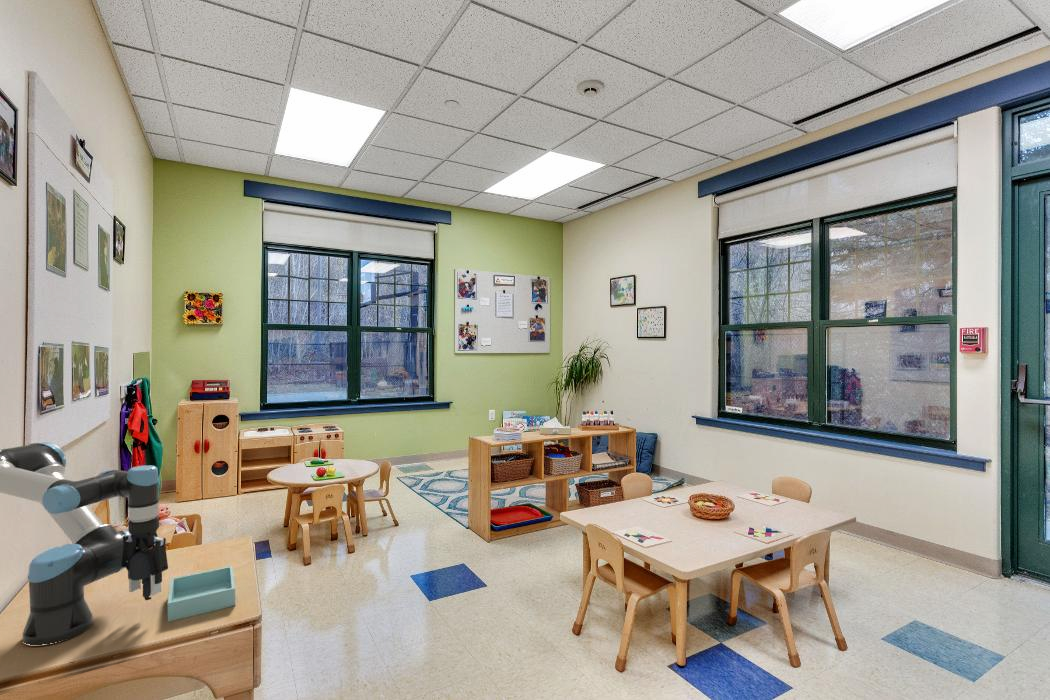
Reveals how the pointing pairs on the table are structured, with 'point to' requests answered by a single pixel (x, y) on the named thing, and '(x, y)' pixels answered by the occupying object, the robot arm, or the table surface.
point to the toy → (141, 572)
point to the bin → (201, 593)
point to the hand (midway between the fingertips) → (145, 591)
